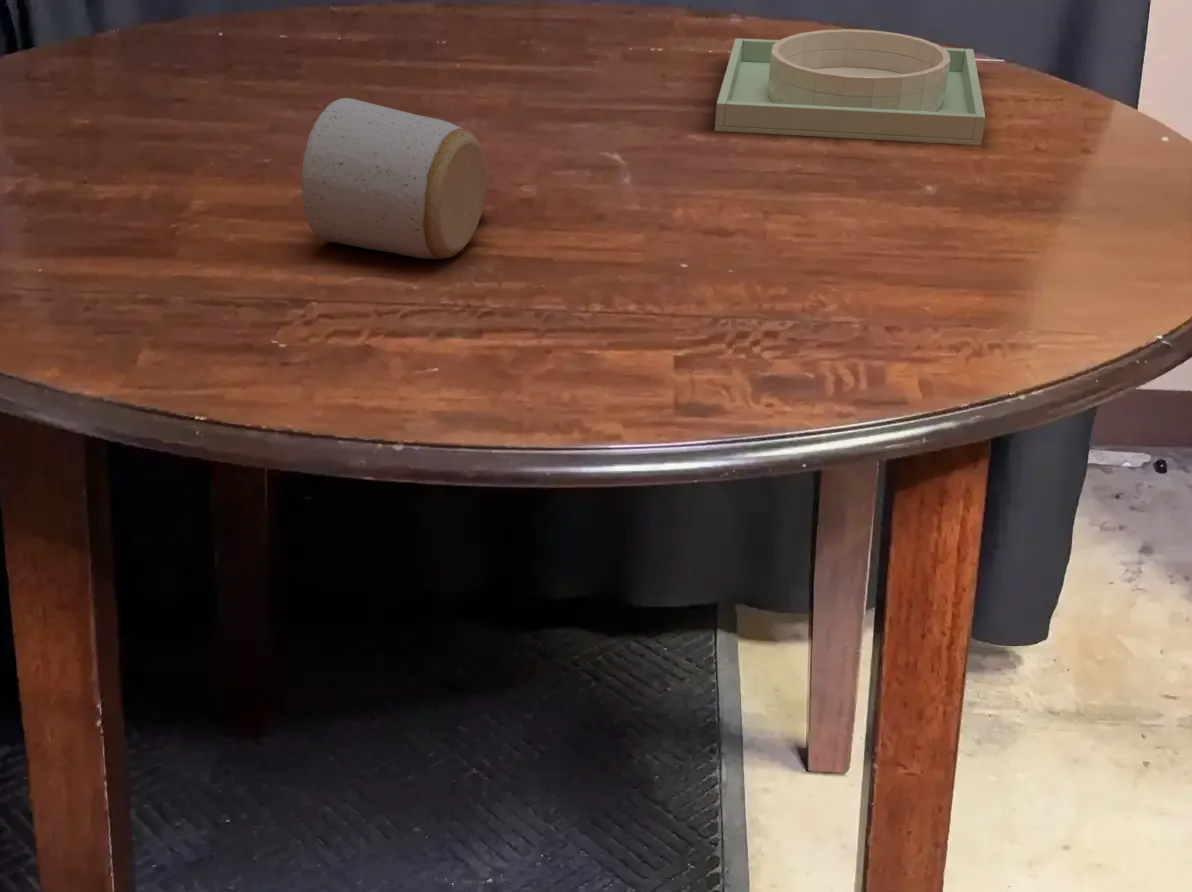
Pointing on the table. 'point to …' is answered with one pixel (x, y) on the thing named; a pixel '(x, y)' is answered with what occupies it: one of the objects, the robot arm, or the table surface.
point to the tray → (755, 113)
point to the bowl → (858, 70)
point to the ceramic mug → (392, 181)
